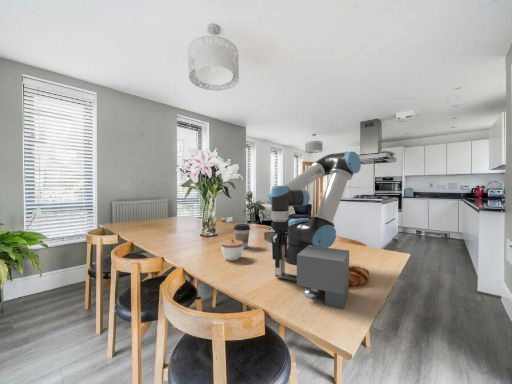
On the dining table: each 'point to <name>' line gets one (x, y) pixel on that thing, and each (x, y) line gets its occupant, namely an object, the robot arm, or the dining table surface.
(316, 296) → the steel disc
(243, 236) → the coffee cup
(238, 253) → the lidded bowl
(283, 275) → the hook tool
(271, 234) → the beverage carton
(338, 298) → the grey l-shaped block
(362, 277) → the croissant
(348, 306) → the dining table surface
